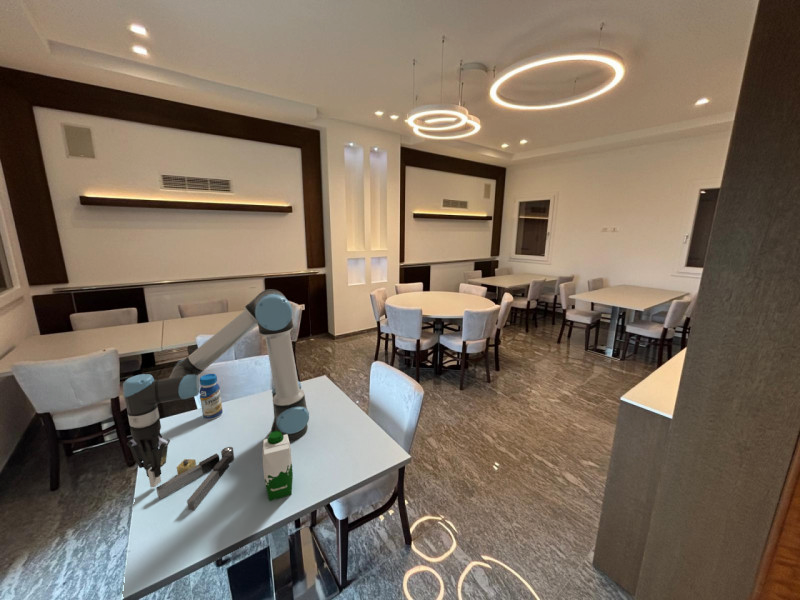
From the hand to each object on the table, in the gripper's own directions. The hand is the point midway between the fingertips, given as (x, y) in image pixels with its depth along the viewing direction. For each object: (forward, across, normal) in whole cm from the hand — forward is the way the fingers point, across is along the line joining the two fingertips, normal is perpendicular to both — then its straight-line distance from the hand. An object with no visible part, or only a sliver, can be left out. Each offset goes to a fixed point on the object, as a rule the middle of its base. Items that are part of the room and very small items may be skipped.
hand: (155, 484), depth 106 cm
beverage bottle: (+2, -8, +43) cm, 44 cm away
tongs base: (+2, +17, +4) cm, 17 cm away
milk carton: (+2, +42, +1) cm, 42 cm away
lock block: (+2, +6, +7) cm, 9 cm away
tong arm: (+1, +9, +4) cm, 10 cm away
